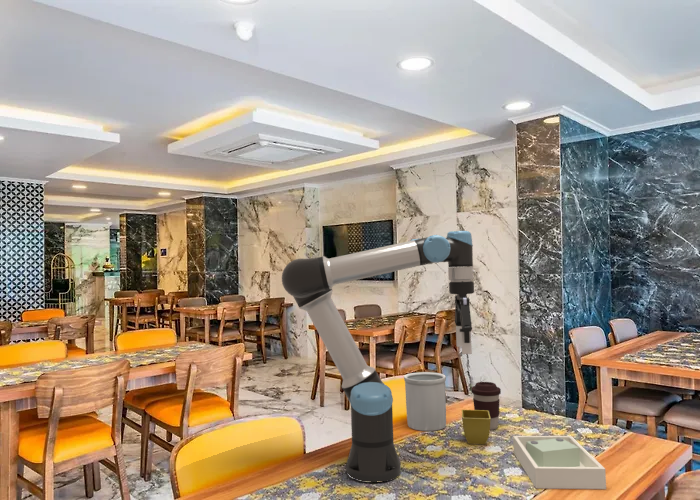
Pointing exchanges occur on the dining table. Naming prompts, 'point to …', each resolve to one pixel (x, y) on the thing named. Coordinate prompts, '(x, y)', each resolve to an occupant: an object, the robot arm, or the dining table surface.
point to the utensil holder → (425, 401)
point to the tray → (561, 477)
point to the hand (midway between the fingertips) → (463, 350)
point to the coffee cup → (487, 400)
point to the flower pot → (476, 426)
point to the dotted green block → (554, 453)
